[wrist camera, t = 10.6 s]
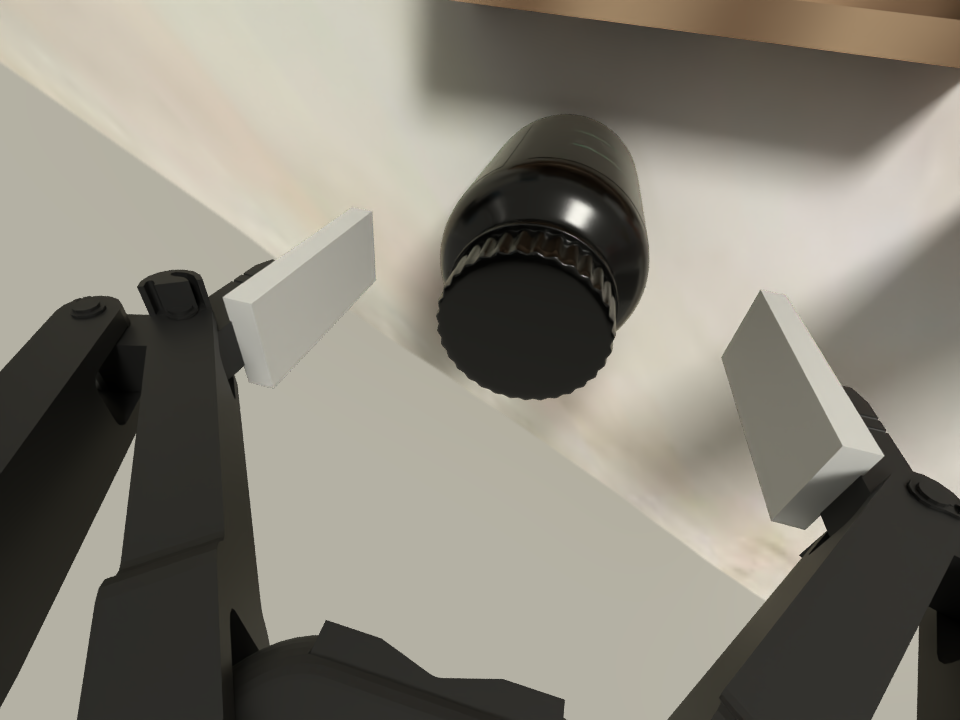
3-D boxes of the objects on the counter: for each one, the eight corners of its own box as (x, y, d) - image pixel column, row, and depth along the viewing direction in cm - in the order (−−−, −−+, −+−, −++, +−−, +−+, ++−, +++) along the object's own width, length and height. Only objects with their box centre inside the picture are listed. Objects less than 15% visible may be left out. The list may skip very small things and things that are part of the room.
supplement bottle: (534, 280, 24) (486, 447, 15) (463, 167, 21) (349, 284, 12) (661, 220, 20) (701, 387, 11) (597, 74, 18) (581, 140, 9)
